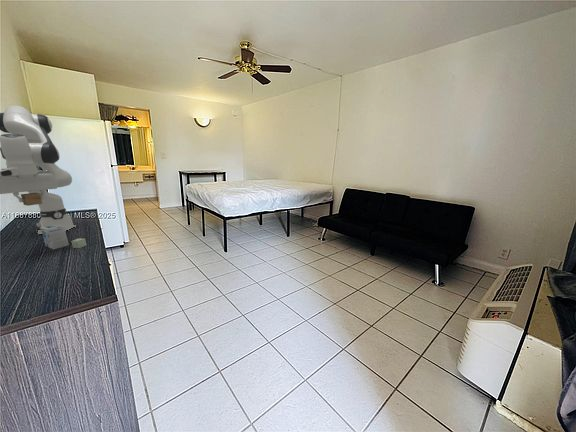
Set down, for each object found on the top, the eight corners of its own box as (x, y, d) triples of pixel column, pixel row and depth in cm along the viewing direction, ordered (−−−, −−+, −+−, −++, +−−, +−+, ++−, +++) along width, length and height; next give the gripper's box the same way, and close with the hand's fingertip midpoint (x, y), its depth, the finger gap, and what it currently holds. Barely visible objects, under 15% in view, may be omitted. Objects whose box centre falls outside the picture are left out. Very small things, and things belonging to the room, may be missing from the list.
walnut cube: (23, 204, 109) (20, 194, 107) (38, 202, 113) (35, 192, 112) (27, 205, 106) (24, 194, 105) (42, 203, 111) (39, 193, 109)
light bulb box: (45, 246, 126) (39, 227, 123) (61, 242, 132) (56, 224, 129) (53, 249, 121) (47, 230, 118) (69, 245, 127) (64, 226, 124)
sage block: (73, 248, 123) (71, 240, 122) (80, 245, 127) (78, 238, 126) (79, 248, 122) (77, 241, 121) (86, 245, 126) (85, 238, 125)
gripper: (50, 169, 116) (58, 196, 120) (-14, 172, 99) (-3, 204, 102) (56, 169, 113) (63, 197, 117) (-10, 172, 96) (1, 205, 99)
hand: (32, 200), depth 109 cm, fingers closed on walnut cube, 5 cm apart
